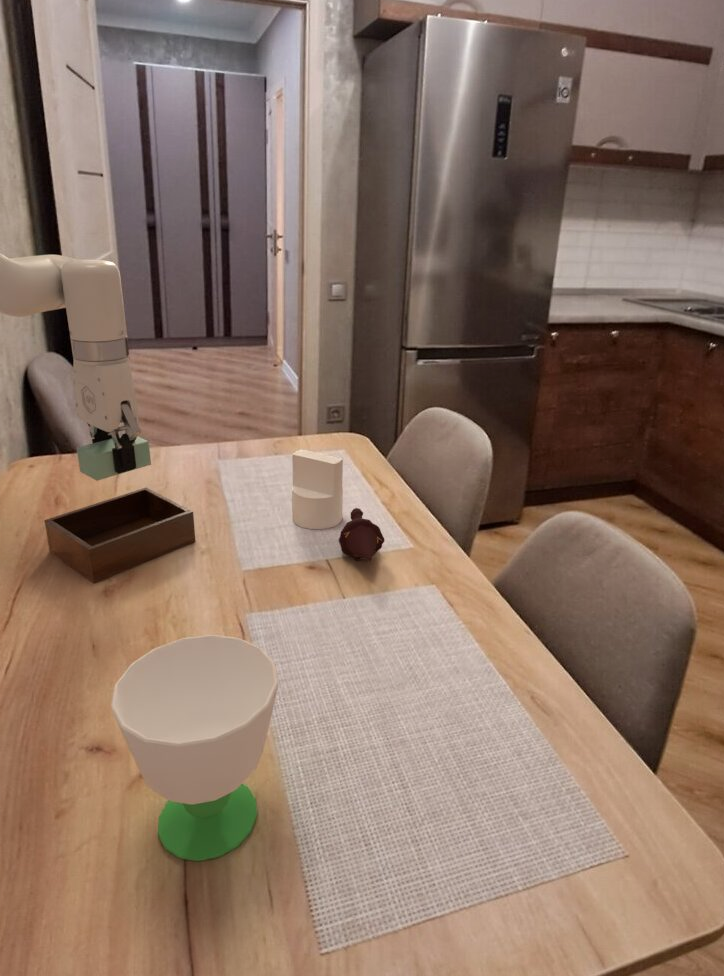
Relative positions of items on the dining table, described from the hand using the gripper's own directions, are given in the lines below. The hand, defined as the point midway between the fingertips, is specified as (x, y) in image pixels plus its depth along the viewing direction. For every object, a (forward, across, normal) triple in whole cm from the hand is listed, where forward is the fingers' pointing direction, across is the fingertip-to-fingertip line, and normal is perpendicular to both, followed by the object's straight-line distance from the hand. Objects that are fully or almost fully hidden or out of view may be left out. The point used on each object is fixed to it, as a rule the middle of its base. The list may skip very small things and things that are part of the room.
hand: (115, 464), depth 103 cm
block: (+1, 0, 0) cm, 1 cm away
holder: (+14, 0, 0) cm, 14 cm away
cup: (+15, +52, -22) cm, 59 cm away
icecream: (+15, +30, +24) cm, 41 cm away
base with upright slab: (+15, +15, +29) cm, 35 cm away
